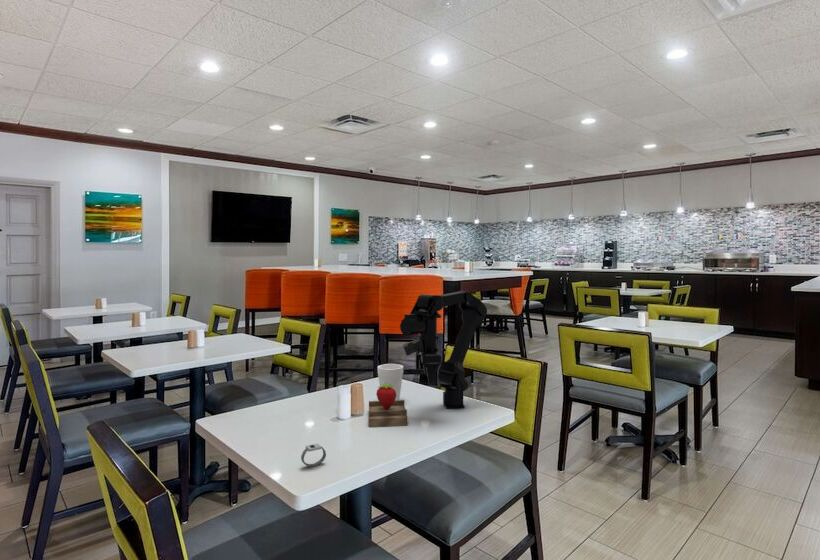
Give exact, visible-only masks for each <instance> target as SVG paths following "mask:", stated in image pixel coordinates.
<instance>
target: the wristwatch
mask: <svg viewBox="0 0 820 560" xmlns="http://www.w3.org/2000/svg"><path fill="white" fill-rule="evenodd" d="M317 450H322V456H321V458H320V459H319V460H318V461H316V462H313V463H306V462H305V455H306V453H307V452H314V451H317ZM326 457H327V452H326V450H325V448H324V447H323V446H322V445H320V444H319V443H314V444H309V445H305V449H303V451H302V453H301V457H300V459H301V462H302V463H303V464H304V465H305V466H307V467H309V468H314V467H316V466H319V465H320V464H322V463H323V462H324V461H325V459H326Z"/></svg>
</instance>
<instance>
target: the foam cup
mask: <svg viewBox="0 0 820 560" xmlns="http://www.w3.org/2000/svg"><path fill="white" fill-rule="evenodd" d="M377 374H378V383H379V387H380V386H383V384H384V385H385V383H386V385H390V386H394V387H392V388H393V389H394V390H395V391H396V398H395V400H401V391H402V383H403V374H404V365H402V364H398V363H385V364H380V365H377ZM384 381H385V382H384Z"/></svg>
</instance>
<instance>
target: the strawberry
mask: <svg viewBox="0 0 820 560" xmlns="http://www.w3.org/2000/svg"><path fill="white" fill-rule="evenodd" d="M384 382H385V381H384ZM392 387H394V386H390V385H386V383H385V385H384V384H383V386H380V385H379V386H378V387H377V388H378V389H377V390H376V398H377V401H379V402H380V403H381V405H382V406H383V407H384V409H385V410H389V408H390V407H391V406H392V404H393V403H394V401H395V398H396V391H395V390H394V389H393V388H392Z"/></svg>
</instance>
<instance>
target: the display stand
mask: <svg viewBox="0 0 820 560" xmlns="http://www.w3.org/2000/svg"><path fill="white" fill-rule="evenodd" d="M401 426H403V427H404V426H405V427H406V426H408V410H407V409H406V407H405V400H404V399H400V400H395V401H394V403H393V404H392V406H391V407H390V408H389V410H385V409H384V407H383V406H382V405H381V403H380V402H379V400H369V401H368V427H369V428H374V427H375V428H377V427H379V428H380V427H401Z"/></svg>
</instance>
